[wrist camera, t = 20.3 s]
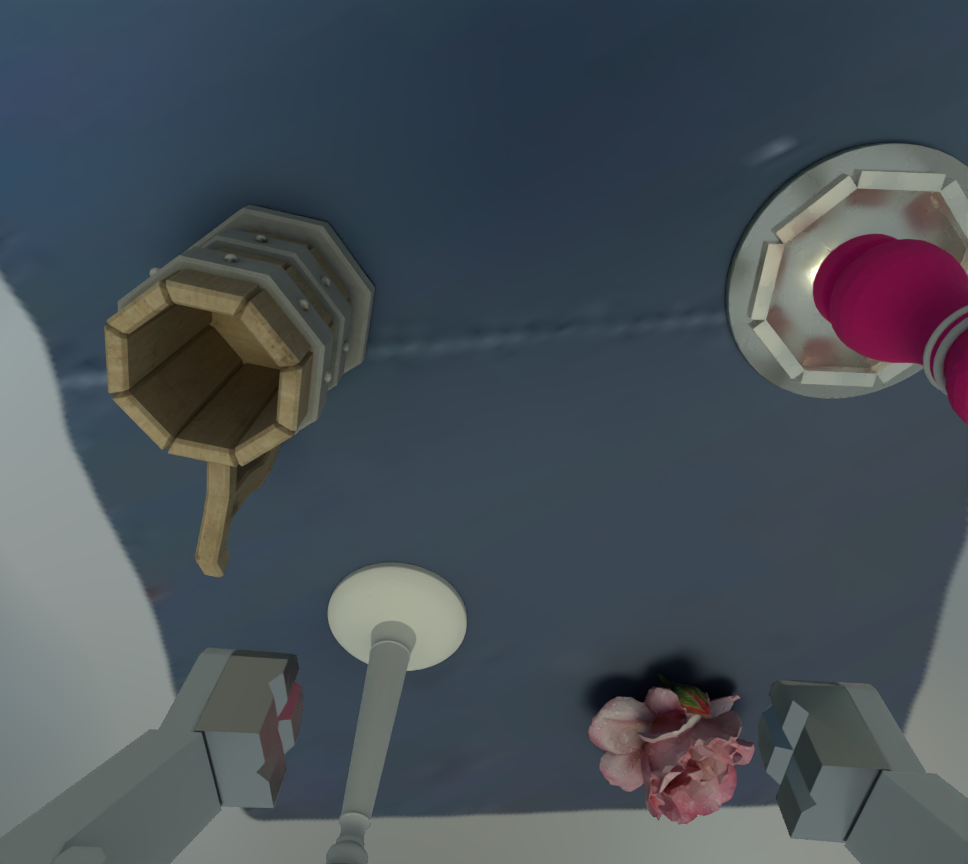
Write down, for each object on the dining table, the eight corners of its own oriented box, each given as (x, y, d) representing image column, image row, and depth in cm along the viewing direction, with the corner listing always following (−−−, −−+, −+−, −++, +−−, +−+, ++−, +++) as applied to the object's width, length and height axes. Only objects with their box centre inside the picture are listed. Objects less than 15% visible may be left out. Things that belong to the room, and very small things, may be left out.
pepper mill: (882, 200, 41) (1159, 292, 23) (939, 281, 43) (1232, 419, 26) (782, 281, 44) (965, 418, 26) (841, 353, 46) (1046, 524, 28)
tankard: (194, 190, 43) (55, 240, 30) (383, 233, 44) (328, 299, 31) (193, 446, 53) (87, 568, 40) (349, 477, 54) (296, 607, 40)
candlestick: (372, 538, 57) (252, 941, 30) (494, 605, 60) (480, 1023, 33) (305, 626, 62) (151, 1035, 35) (419, 683, 65) (357, 1098, 39)
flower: (607, 794, 67) (649, 882, 58) (565, 684, 63) (602, 760, 53) (736, 734, 69) (797, 810, 59) (703, 622, 64) (764, 685, 55)
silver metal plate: (756, 137, 41) (767, 139, 39) (1034, 147, 40) (1058, 151, 38) (703, 387, 49) (710, 398, 47) (935, 397, 48) (951, 409, 47)
